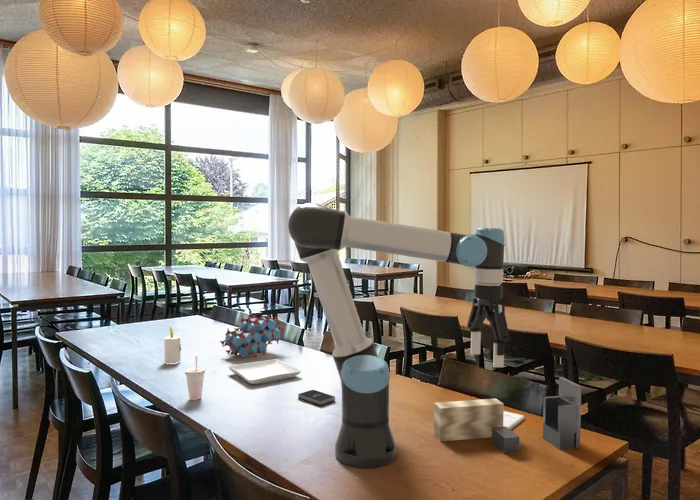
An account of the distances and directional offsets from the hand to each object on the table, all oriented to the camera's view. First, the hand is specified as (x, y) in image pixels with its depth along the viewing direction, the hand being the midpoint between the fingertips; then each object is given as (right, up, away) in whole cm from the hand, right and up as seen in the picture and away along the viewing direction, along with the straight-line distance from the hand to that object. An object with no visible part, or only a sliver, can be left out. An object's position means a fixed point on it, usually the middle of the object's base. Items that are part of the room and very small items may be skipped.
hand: (486, 360), depth 143 cm
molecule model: (-80, -16, +84) cm, 118 cm away
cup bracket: (+17, -20, -8) cm, 27 cm away
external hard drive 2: (+7, -20, +7) cm, 22 cm away
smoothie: (-89, -19, +27) cm, 95 cm away
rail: (-6, -20, -3) cm, 21 cm away
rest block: (+2, -20, -11) cm, 23 cm away
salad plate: (-70, -18, +53) cm, 90 cm away
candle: (-112, -17, +72) cm, 134 cm away
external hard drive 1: (-49, -19, +25) cm, 58 cm away
